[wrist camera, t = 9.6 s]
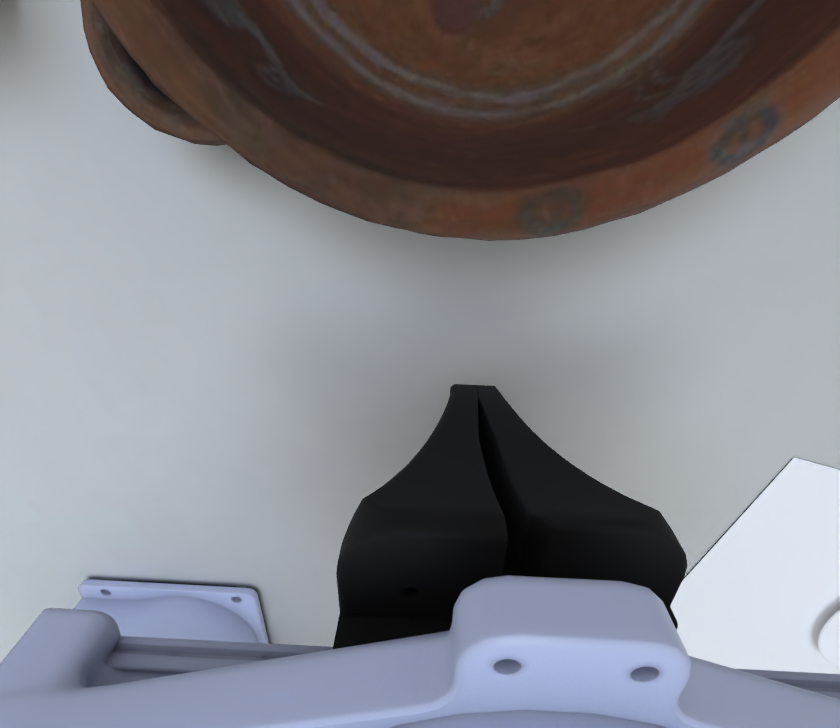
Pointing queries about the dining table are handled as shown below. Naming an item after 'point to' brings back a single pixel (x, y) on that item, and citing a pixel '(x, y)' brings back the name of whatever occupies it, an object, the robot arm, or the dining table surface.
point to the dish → (475, 98)
